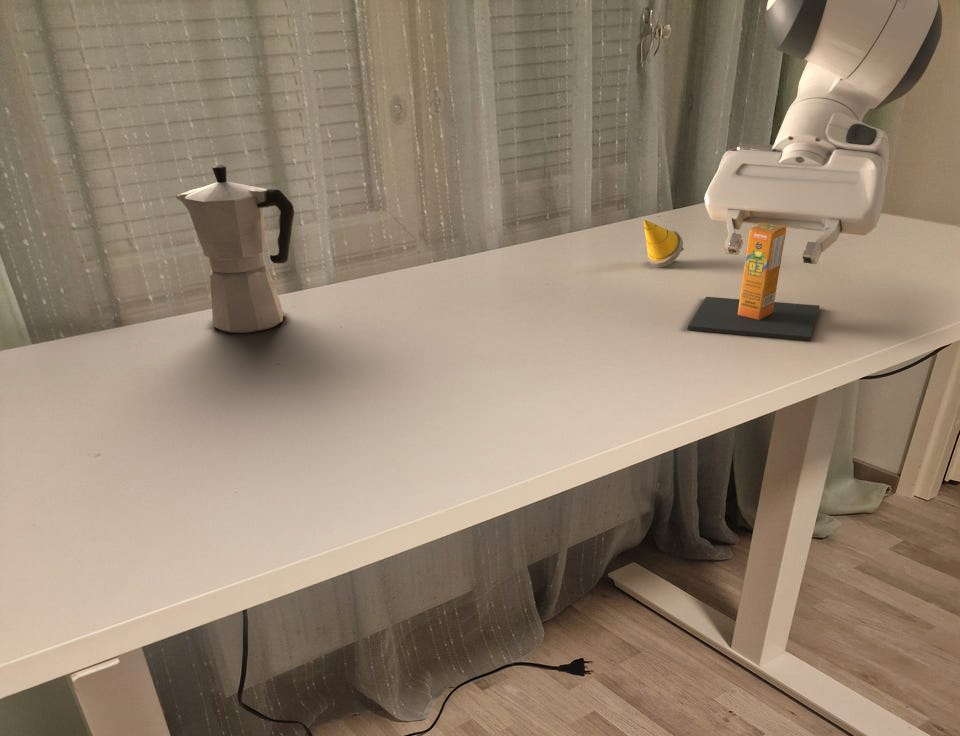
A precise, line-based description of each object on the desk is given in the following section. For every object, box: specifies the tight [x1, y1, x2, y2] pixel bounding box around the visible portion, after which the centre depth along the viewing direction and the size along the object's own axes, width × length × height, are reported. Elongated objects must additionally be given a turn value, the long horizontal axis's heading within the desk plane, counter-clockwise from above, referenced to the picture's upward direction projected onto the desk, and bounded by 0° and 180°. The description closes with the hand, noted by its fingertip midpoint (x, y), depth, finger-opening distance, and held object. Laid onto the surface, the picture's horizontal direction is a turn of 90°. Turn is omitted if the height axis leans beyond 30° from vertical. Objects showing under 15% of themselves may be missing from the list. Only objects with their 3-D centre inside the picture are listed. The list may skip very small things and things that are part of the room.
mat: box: [687, 296, 820, 342], centre depth 105 cm, size 14×12×1 cm
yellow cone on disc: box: [643, 219, 685, 268], centre depth 122 cm, size 5×5×10 cm
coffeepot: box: [175, 163, 295, 334], centre depth 105 cm, size 15×9×18 cm, turn 72°
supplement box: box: [738, 223, 787, 320], centre depth 102 cm, size 3×3×10 cm
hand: (769, 256), depth 101 cm, fingers open, 8 cm apart
